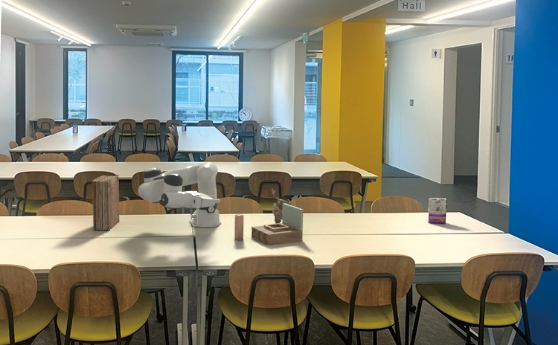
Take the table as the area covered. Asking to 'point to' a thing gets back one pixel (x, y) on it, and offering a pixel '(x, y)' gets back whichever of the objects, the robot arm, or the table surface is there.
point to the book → (105, 202)
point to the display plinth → (282, 228)
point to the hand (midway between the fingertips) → (216, 199)
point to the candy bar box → (437, 210)
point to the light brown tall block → (239, 227)
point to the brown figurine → (278, 208)
